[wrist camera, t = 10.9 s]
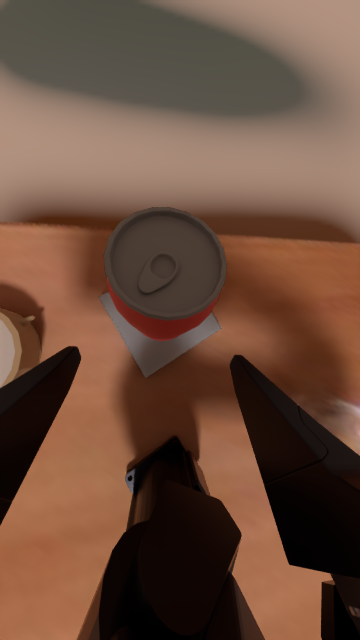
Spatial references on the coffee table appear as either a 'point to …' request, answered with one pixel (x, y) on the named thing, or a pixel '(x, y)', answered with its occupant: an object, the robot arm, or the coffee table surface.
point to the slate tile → (152, 351)
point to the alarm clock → (17, 346)
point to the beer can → (164, 271)
